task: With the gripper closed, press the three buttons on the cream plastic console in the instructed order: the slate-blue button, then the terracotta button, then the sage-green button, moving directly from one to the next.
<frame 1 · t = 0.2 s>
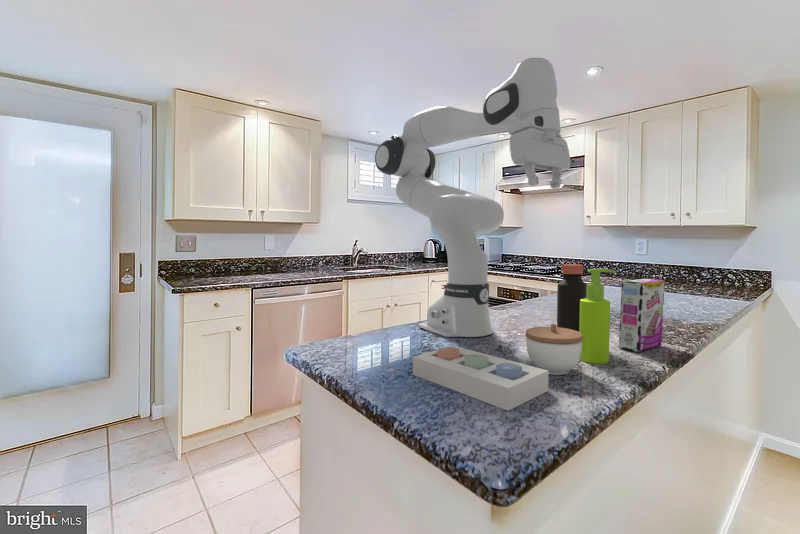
hand: (545, 186, 92), 39 cm above the countertop, tool pointing down, fingers open, 8 cm apart
soap dispenser: (596, 360, 85), on the countertop
button sage: (476, 365, 72), point 3 cm above the countertop, slide at 0.0 cm
candy bar box: (641, 348, 94), on the countertop
button slate: (508, 375, 67), point 3 cm above the countertop, slide at 0.0 cm
console: (476, 382, 72), on the countertop
bottle: (570, 344, 98), on the countertop
lidded jar: (553, 370, 79), on the countertop
button terracotta: (448, 357, 78), point 3 cm above the countertop, slide at 0.0 cm
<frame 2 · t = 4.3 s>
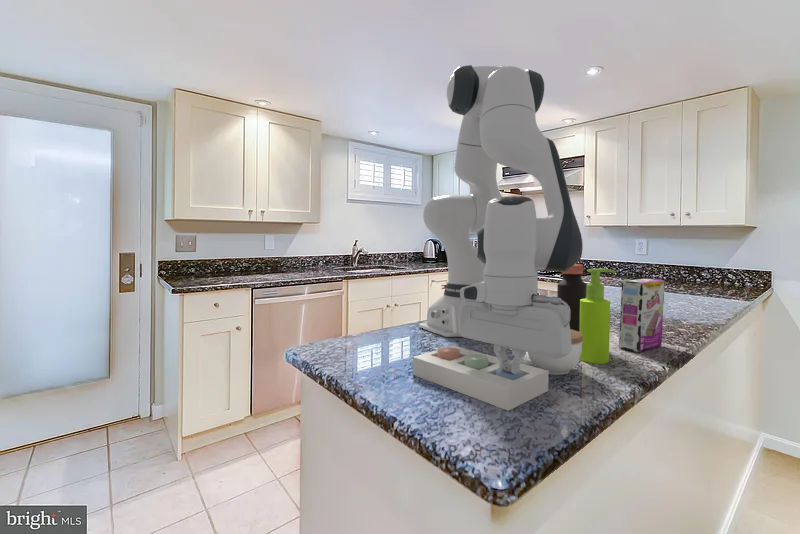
hand: (509, 372, 67), 4 cm above the countertop, tool pointing down, fingers closed, pressing on button slate
button slate: (508, 380, 67), point 2 cm above the countertop, slide at 0.9 cm, touching gripper
everything else where it was.
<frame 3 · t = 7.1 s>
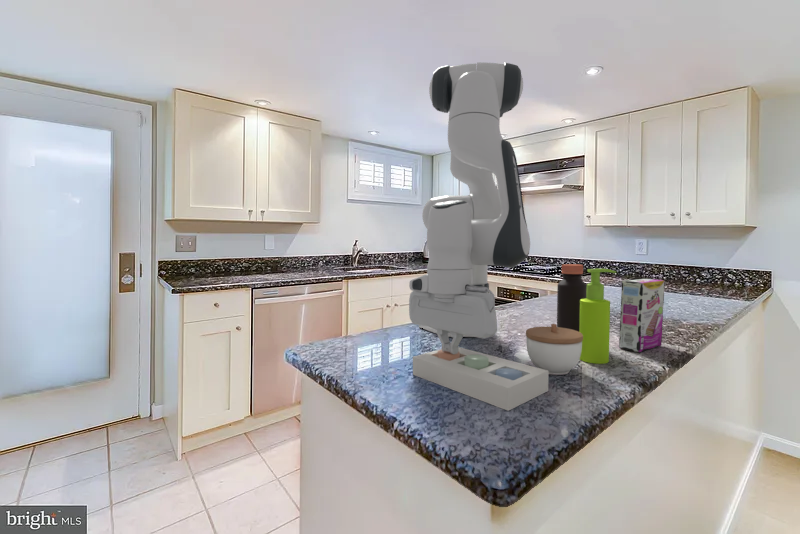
hand: (450, 352, 77), 4 cm above the countertop, tool pointing down, fingers closed, pressing on button terracotta
button slate: (508, 381, 67), point 2 cm above the countertop, slide at 1.0 cm
button terracotta: (448, 359, 78), point 3 cm above the countertop, slide at 0.4 cm, touching gripper
everything else where it was.
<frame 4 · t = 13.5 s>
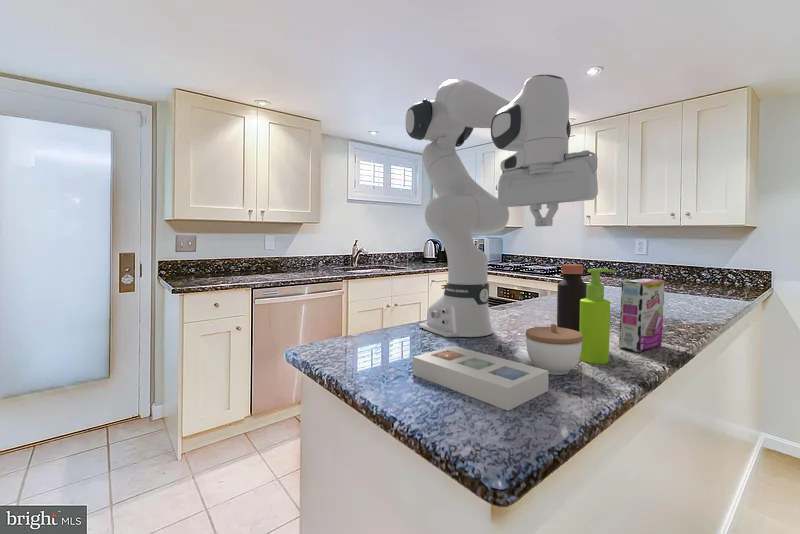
hand: (543, 226, 80), 29 cm above the countertop, tool pointing down, fingers closed
button sage: (476, 371, 72), point 2 cm above the countertop, slide at 1.0 cm
button terracotta: (448, 362, 78), point 2 cm above the countertop, slide at 1.0 cm
everything else where it was.
at the end: button slate slide at 1.0 cm; button terracotta slide at 1.0 cm; button sage slide at 1.0 cm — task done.
